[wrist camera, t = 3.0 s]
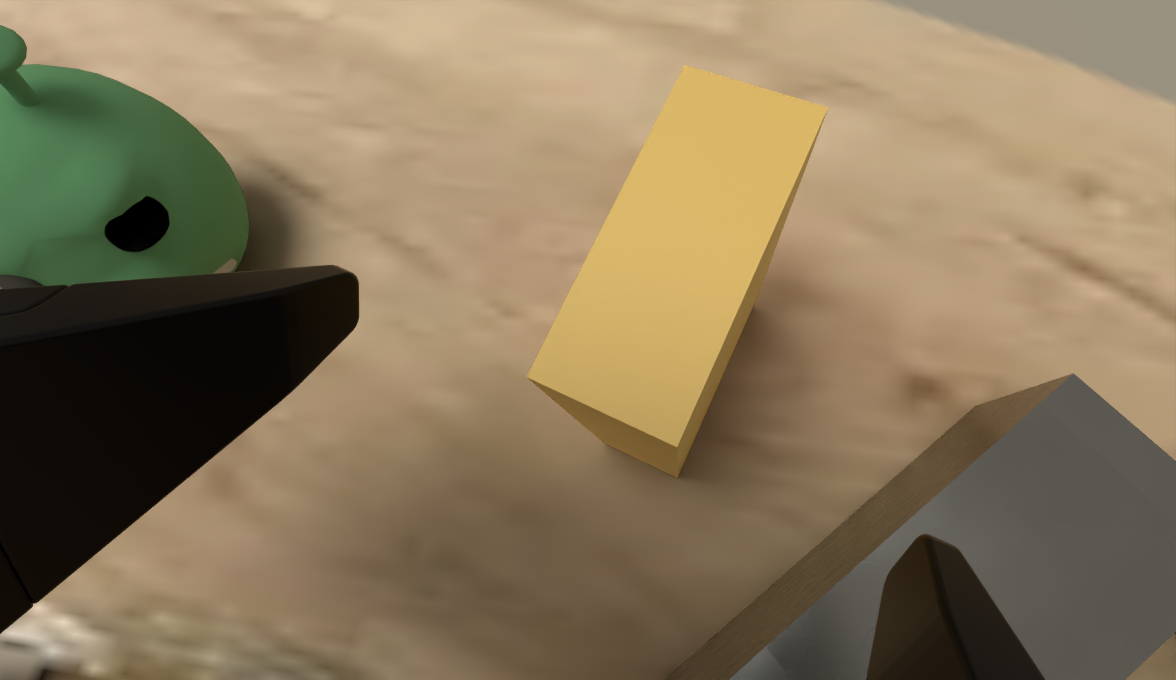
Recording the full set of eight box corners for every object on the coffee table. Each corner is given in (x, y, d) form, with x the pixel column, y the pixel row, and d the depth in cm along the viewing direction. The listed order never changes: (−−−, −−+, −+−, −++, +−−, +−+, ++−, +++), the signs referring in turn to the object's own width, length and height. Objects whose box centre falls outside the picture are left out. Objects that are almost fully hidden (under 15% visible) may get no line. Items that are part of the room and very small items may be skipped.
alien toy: (147, 393, 22) (-274, 303, 12) (113, 221, 24) (-262, 32, 14) (321, 310, 21) (35, 152, 12) (270, 146, 24) (-4, -96, 14)
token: (677, 478, 18) (677, 447, 9) (603, 442, 19) (526, 377, 9) (753, 306, 19) (828, 107, 10) (681, 277, 20) (684, 65, 10)
